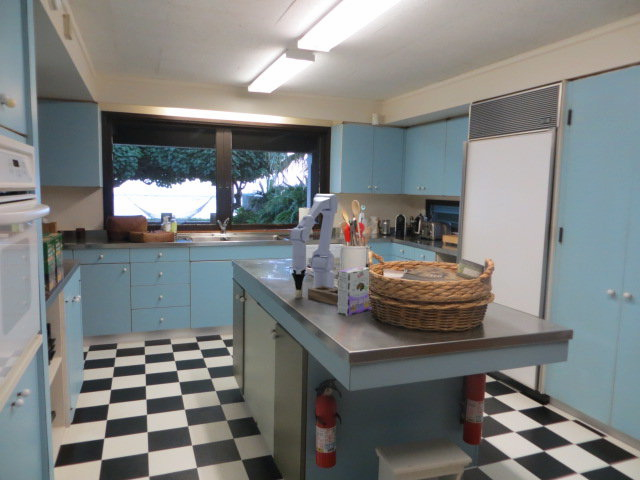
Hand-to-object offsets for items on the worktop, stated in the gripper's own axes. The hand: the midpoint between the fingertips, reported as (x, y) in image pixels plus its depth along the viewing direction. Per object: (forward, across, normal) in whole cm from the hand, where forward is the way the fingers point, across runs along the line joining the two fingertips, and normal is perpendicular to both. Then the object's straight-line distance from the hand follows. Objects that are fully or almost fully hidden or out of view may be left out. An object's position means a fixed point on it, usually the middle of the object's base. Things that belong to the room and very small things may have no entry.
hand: (298, 287), depth 196 cm
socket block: (+4, +3, +13) cm, 14 cm away
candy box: (+5, +20, +22) cm, 30 cm away
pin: (+4, 0, 0) cm, 4 cm away
